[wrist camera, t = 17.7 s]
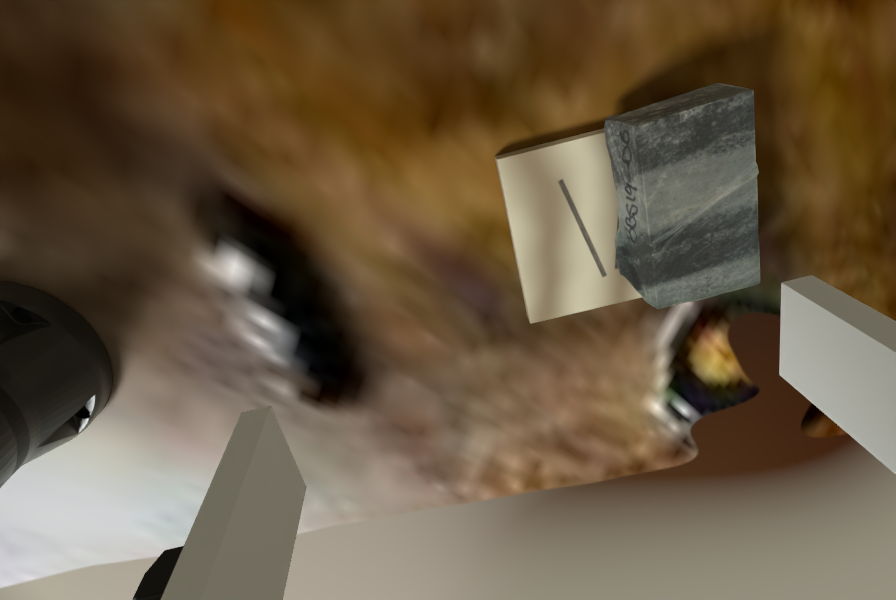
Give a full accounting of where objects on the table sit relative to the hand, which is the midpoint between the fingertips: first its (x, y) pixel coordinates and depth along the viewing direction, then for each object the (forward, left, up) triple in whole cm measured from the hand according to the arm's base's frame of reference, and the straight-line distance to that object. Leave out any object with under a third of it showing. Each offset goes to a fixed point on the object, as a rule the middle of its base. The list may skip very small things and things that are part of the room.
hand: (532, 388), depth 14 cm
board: (+11, -7, -32) cm, 34 cm away
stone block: (+15, -6, -30) cm, 34 cm away
